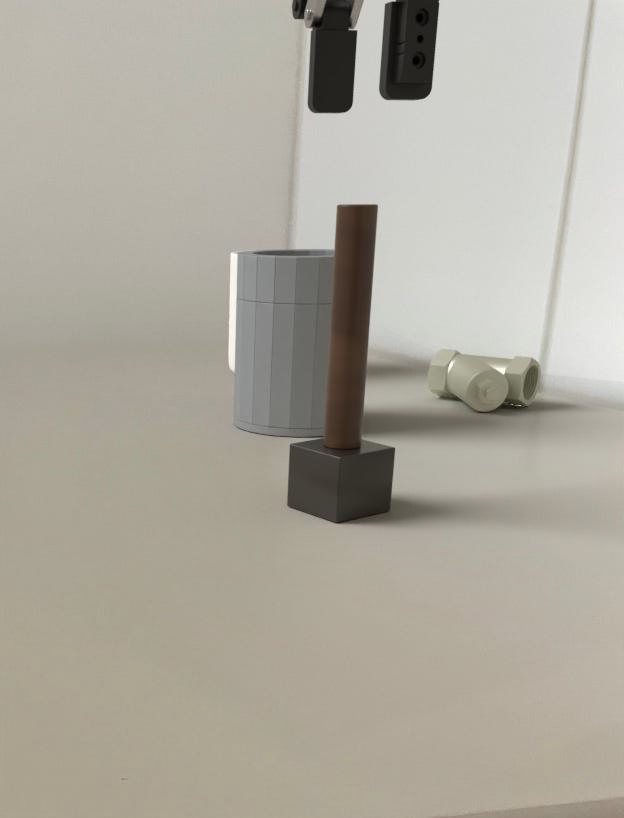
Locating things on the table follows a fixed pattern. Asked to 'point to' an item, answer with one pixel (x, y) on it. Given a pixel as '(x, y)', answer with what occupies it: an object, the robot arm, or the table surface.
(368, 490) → the hammer
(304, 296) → the cup
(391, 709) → the table surface
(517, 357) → the pipe fitting
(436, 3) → the robot arm
